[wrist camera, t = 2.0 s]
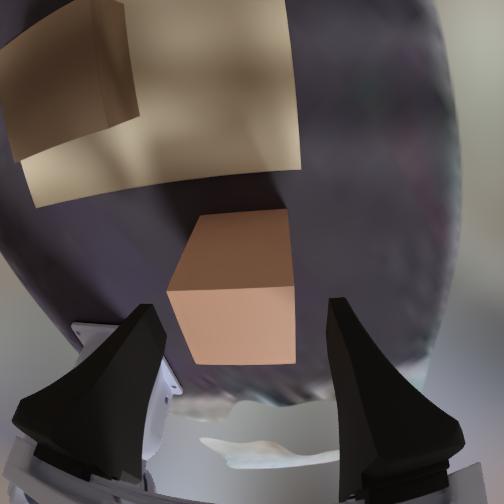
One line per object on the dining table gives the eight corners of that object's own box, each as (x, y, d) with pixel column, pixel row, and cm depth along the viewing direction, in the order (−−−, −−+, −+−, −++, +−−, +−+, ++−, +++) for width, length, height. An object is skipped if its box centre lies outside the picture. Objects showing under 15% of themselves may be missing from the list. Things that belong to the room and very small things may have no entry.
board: (299, 165, 13) (301, 169, 13) (41, 204, 15) (36, 208, 15) (275, -48, 7) (275, -53, 7) (7, 50, 9) (1, 51, 9)
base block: (139, 116, 12) (108, 128, 9) (50, 145, 12) (14, 163, 10) (123, 3, 8) (89, -8, 6) (33, 49, 9) (-5, 54, 7)
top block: (290, 278, 17) (295, 363, 12) (215, 282, 18) (196, 364, 13) (287, 208, 15) (294, 286, 10) (200, 215, 15) (166, 290, 10)
